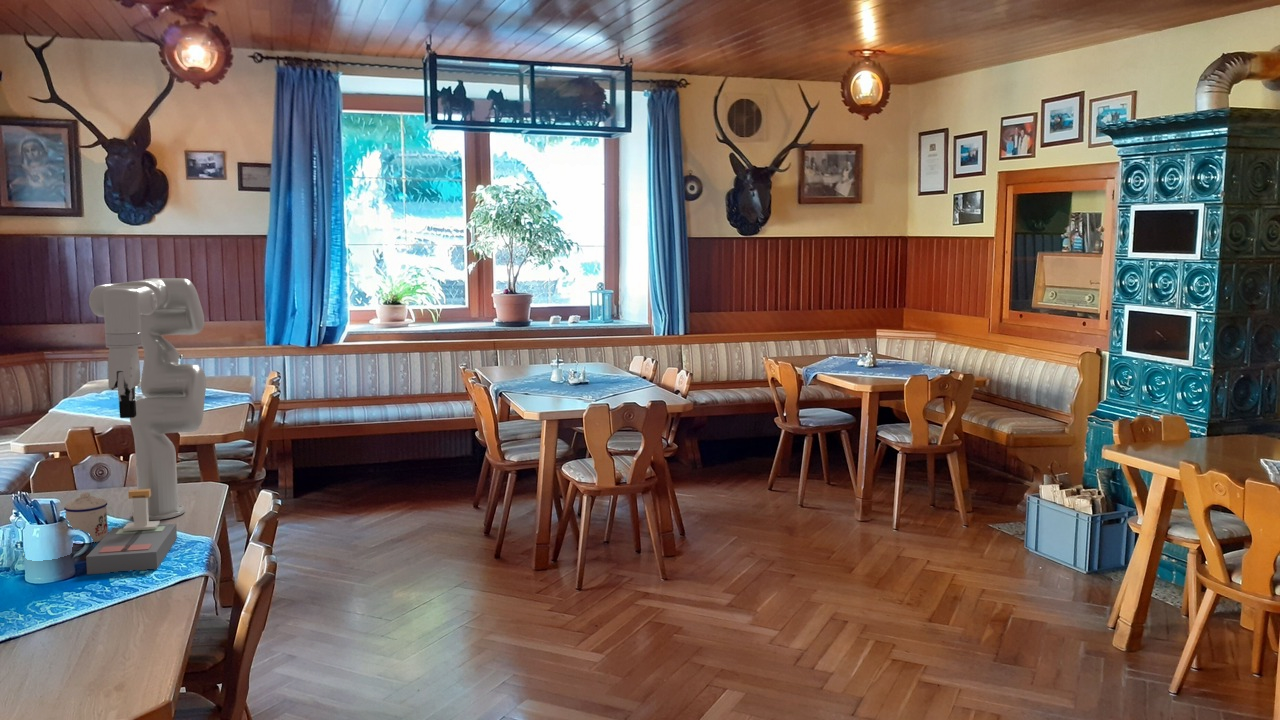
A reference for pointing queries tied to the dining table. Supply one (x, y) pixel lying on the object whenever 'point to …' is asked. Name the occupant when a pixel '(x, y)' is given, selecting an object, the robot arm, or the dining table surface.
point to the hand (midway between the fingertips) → (128, 417)
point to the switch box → (131, 549)
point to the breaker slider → (140, 511)
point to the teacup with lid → (88, 515)
